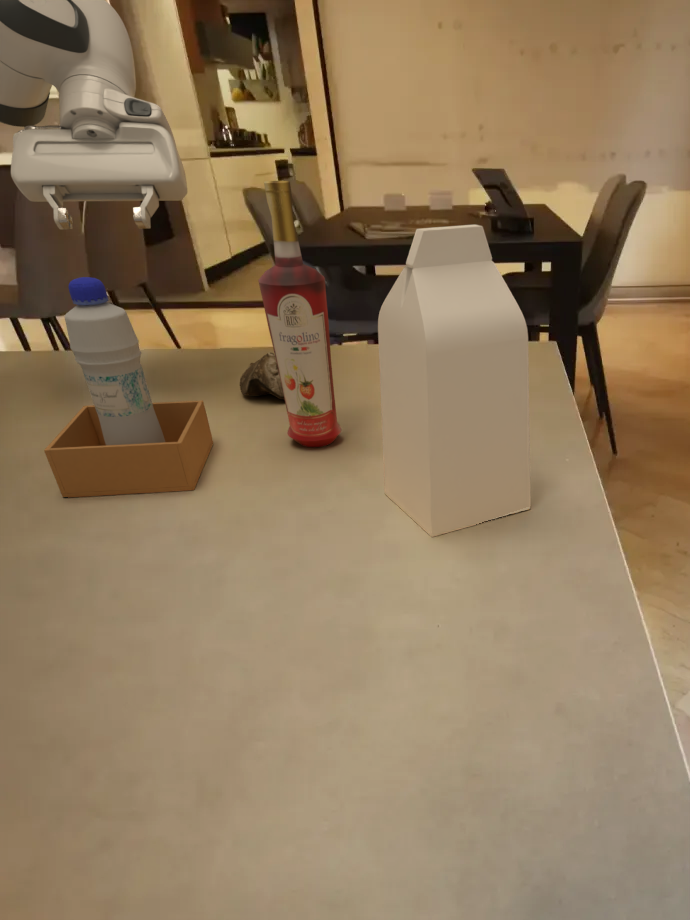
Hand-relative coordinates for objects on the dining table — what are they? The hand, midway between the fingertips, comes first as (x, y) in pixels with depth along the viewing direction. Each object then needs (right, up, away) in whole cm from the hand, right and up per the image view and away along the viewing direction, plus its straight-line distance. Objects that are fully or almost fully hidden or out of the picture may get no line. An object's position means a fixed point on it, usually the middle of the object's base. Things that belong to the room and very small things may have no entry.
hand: (103, 225), depth 88 cm
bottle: (+7, -32, -5) cm, 33 cm away
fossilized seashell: (+17, -16, +17) cm, 28 cm away
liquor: (+26, -27, +3) cm, 37 cm away
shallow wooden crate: (+7, -32, -4) cm, 33 cm away
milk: (+45, -37, -11) cm, 59 cm away
